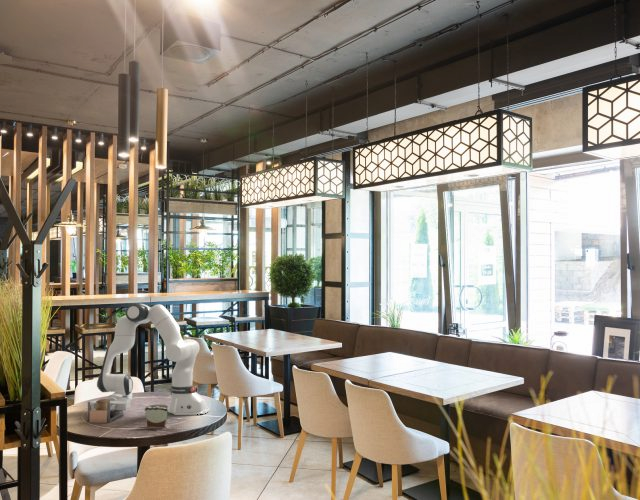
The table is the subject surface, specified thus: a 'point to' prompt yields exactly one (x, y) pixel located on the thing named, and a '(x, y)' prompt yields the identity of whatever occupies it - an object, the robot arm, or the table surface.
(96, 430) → the table surface
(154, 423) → the food container
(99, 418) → the bay
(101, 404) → the tan upright block
